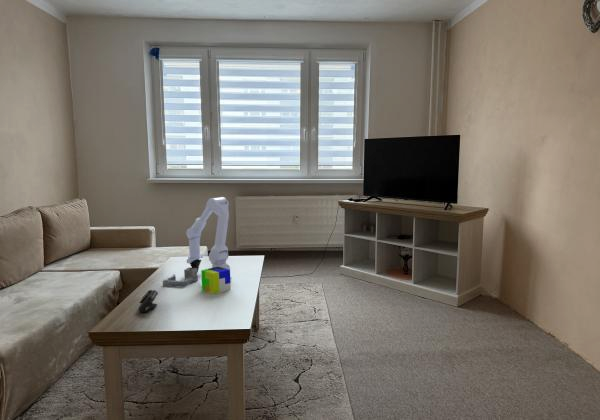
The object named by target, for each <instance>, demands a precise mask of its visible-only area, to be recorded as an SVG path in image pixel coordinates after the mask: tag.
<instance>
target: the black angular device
mask: <svg viewBox="0 0 600 420" xmlns="http://www.w3.org/2000/svg"><path fill="white" fill-rule="evenodd" d="M158 294H159V293H158V291H157V290H155V289H153V290H152V289H149V290H148V291H147V292H146V293H145V294H144V295H143V296H142V297H141V299H140V301H139V302H138V303H139V306H138V309H137V310H138V311H139V312H140V313H141V314H143V313H146V312H148V311H149V310H151V309H155V308H156V307H157V305H158V304H157V303H153V302H154V301H155V299H156V298H157V296H158Z"/></svg>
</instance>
